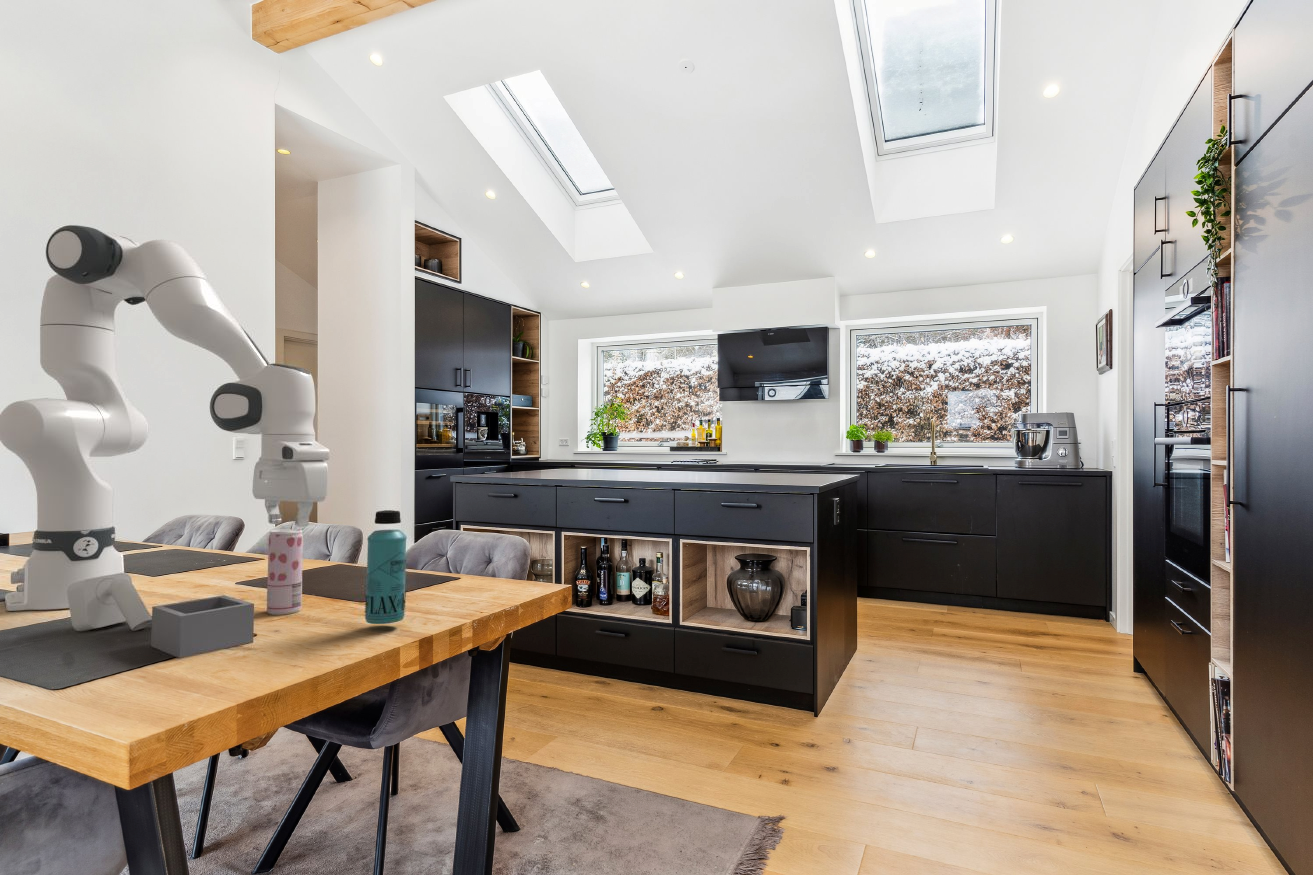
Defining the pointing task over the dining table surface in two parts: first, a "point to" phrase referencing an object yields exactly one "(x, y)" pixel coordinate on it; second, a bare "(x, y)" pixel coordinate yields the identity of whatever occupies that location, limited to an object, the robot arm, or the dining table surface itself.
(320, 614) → the dining table surface
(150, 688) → the dining table surface
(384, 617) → the beverage bottle
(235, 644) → the open box
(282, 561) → the beverage can
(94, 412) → the robot arm
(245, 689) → the dining table surface
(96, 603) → the wall hook
